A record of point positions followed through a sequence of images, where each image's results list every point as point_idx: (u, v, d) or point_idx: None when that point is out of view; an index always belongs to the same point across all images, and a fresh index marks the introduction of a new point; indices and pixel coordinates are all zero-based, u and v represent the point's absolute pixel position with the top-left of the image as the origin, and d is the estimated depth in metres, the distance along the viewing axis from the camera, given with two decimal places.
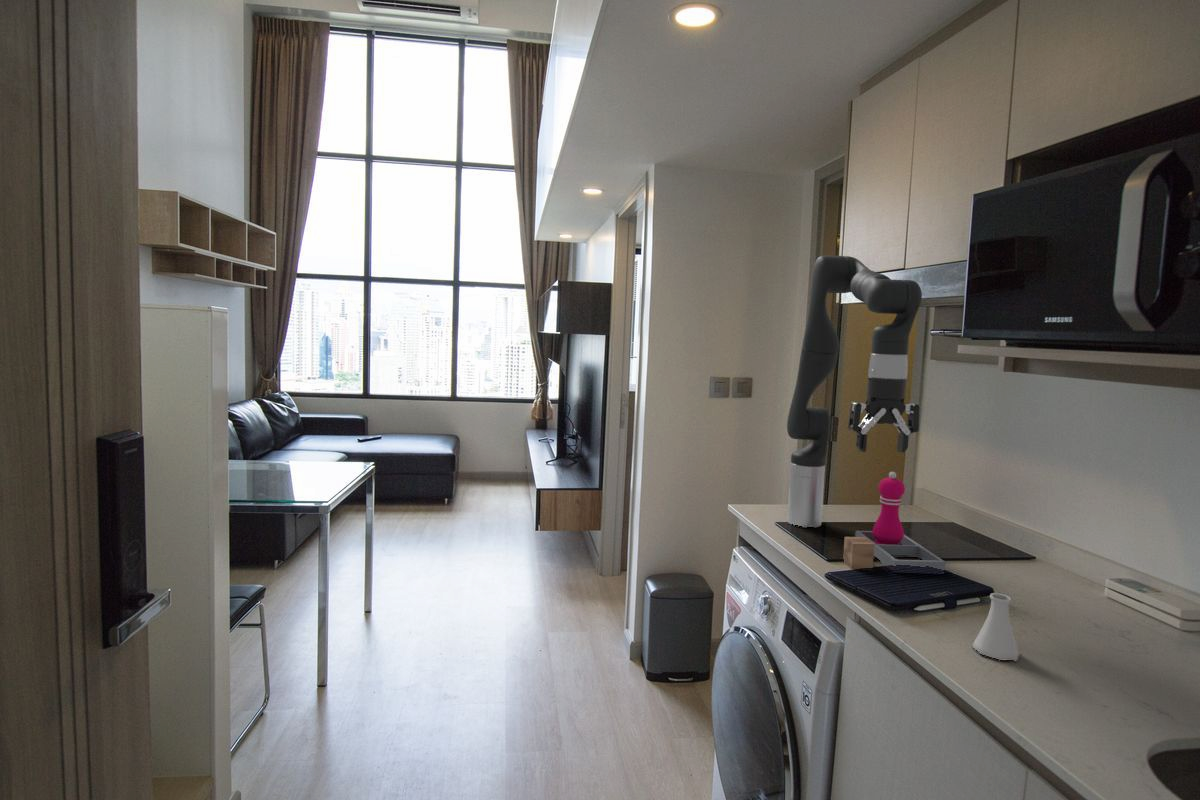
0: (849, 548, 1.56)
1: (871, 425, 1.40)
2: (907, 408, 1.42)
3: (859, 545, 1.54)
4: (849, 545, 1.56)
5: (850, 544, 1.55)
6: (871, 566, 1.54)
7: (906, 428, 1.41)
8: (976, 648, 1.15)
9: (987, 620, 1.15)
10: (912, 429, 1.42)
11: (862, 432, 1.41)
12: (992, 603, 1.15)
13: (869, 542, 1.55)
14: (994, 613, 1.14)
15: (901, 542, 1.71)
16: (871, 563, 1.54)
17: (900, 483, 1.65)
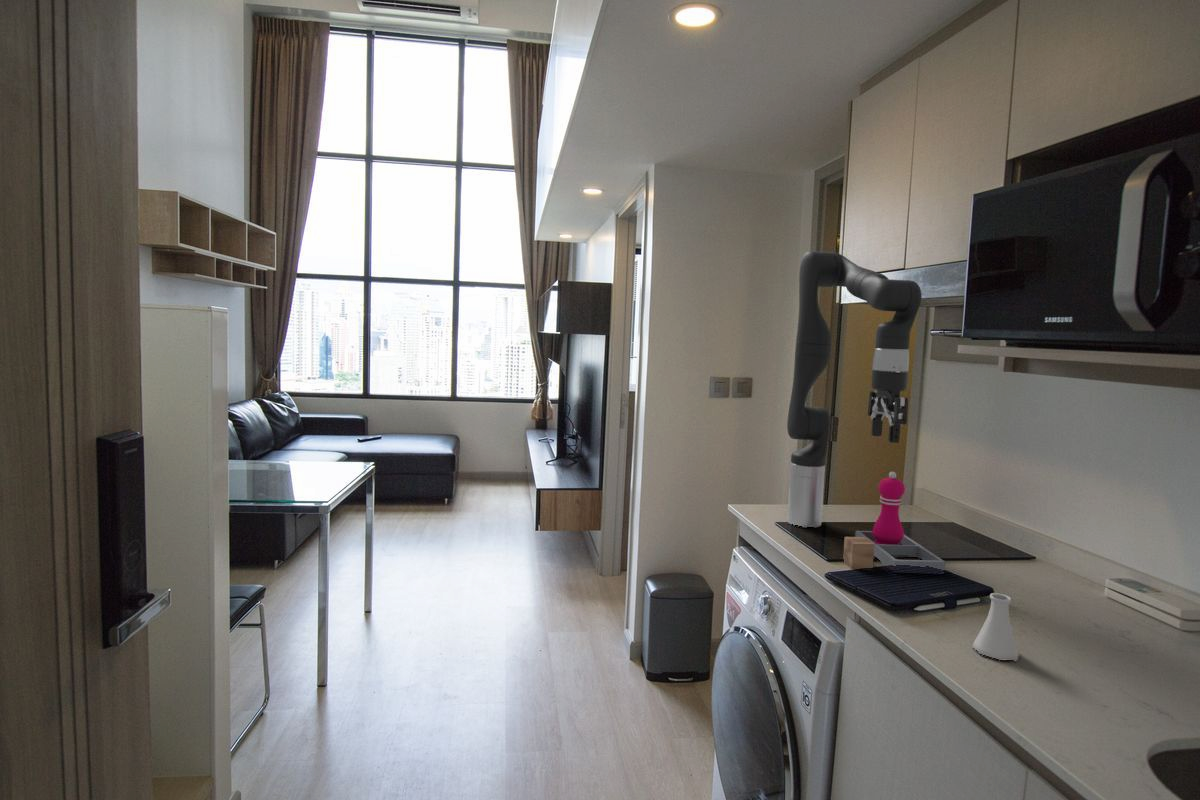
0: (849, 548, 1.56)
1: None
2: None
3: (859, 545, 1.54)
4: (849, 545, 1.56)
5: (850, 544, 1.55)
6: (871, 566, 1.54)
7: None
8: (976, 648, 1.15)
9: (987, 620, 1.15)
10: None
11: None
12: (992, 603, 1.15)
13: (869, 542, 1.55)
14: (994, 613, 1.14)
15: (901, 542, 1.71)
16: (871, 563, 1.54)
17: (900, 483, 1.65)
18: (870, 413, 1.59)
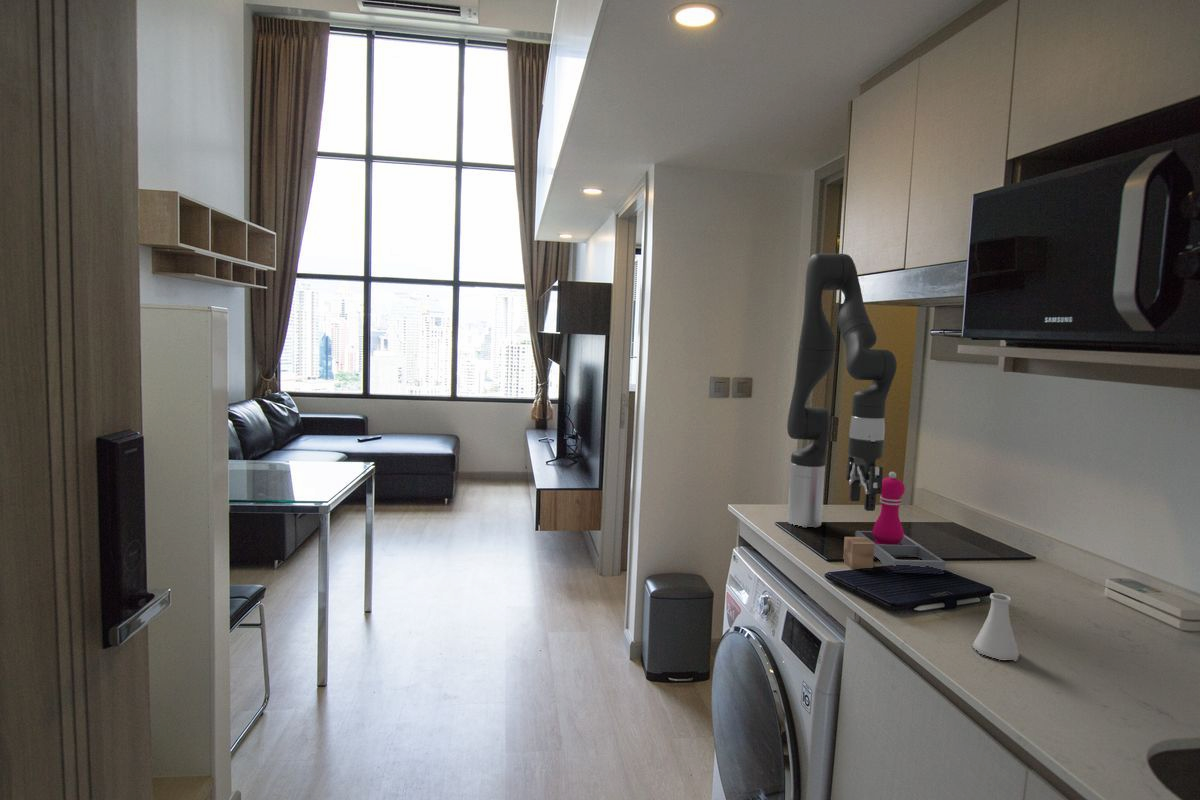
0: (849, 548, 1.56)
1: None
2: None
3: (858, 545, 1.54)
4: (849, 545, 1.56)
5: (850, 544, 1.55)
6: (871, 566, 1.55)
7: None
8: (976, 648, 1.15)
9: (987, 620, 1.15)
10: None
11: None
12: (992, 603, 1.15)
13: (869, 542, 1.55)
14: (994, 613, 1.14)
15: (901, 542, 1.71)
16: (871, 563, 1.54)
17: (900, 483, 1.65)
18: (848, 478, 1.61)
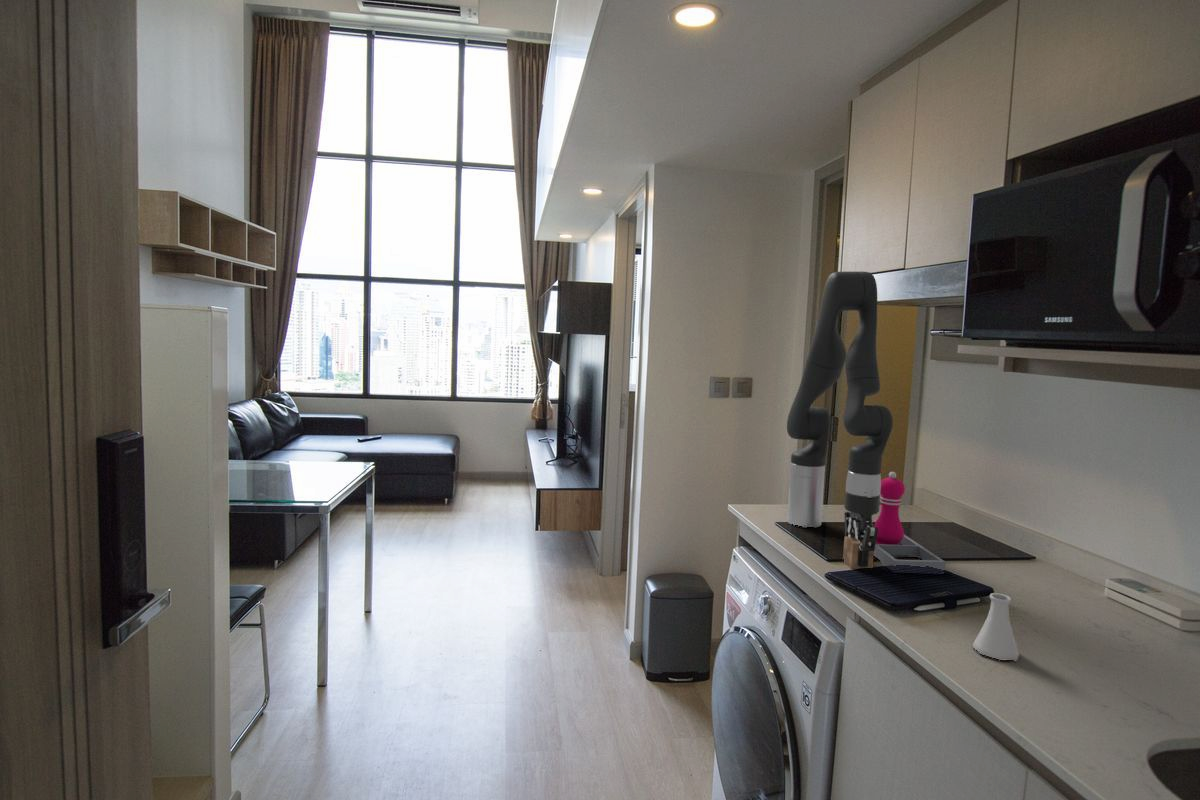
0: (849, 548, 1.56)
1: None
2: None
3: None
4: (848, 545, 1.56)
5: (850, 544, 1.55)
6: (871, 566, 1.55)
7: None
8: (976, 648, 1.15)
9: (987, 620, 1.15)
10: (854, 535, 1.61)
11: None
12: (992, 603, 1.15)
13: None
14: (994, 613, 1.14)
15: (901, 542, 1.71)
16: (871, 563, 1.54)
17: (900, 483, 1.65)
18: (847, 534, 1.61)
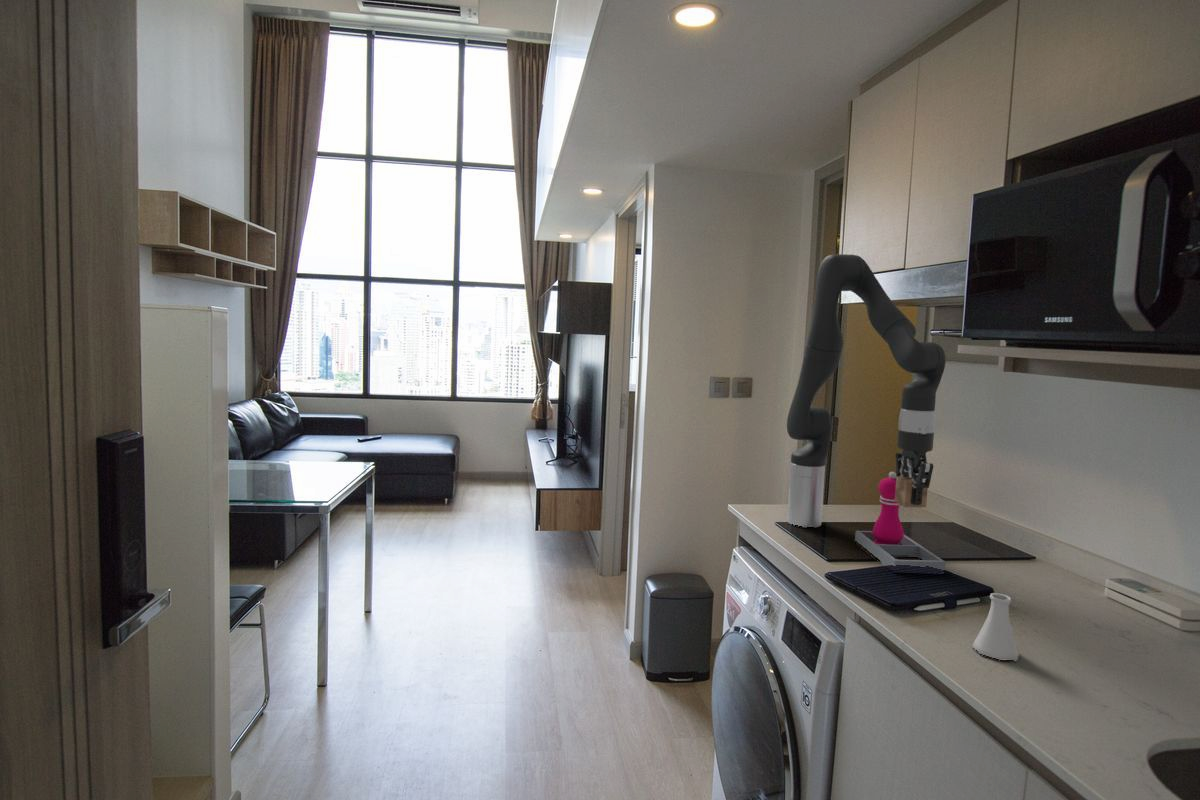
0: (902, 486, 1.55)
1: None
2: None
3: None
4: (901, 484, 1.55)
5: (903, 482, 1.54)
6: (924, 504, 1.54)
7: None
8: (976, 648, 1.15)
9: (987, 620, 1.15)
10: None
11: None
12: (992, 603, 1.15)
13: None
14: (994, 613, 1.14)
15: (901, 542, 1.71)
16: (924, 501, 1.53)
17: None
18: (899, 474, 1.60)
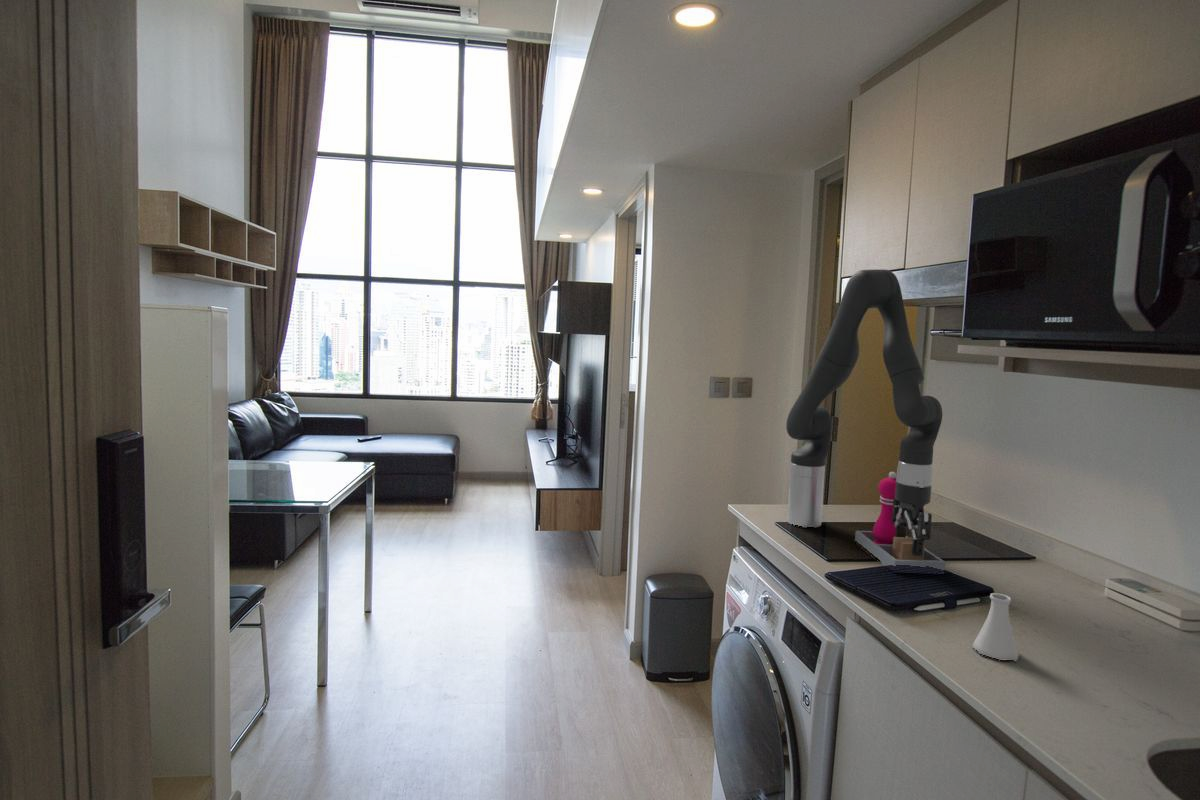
0: (898, 548, 1.57)
1: None
2: None
3: (909, 545, 1.55)
4: (898, 545, 1.57)
5: (900, 544, 1.56)
6: None
7: None
8: (976, 648, 1.15)
9: (987, 620, 1.15)
10: None
11: None
12: (992, 603, 1.15)
13: None
14: (994, 613, 1.14)
15: None
16: None
17: None
18: (894, 520, 1.63)
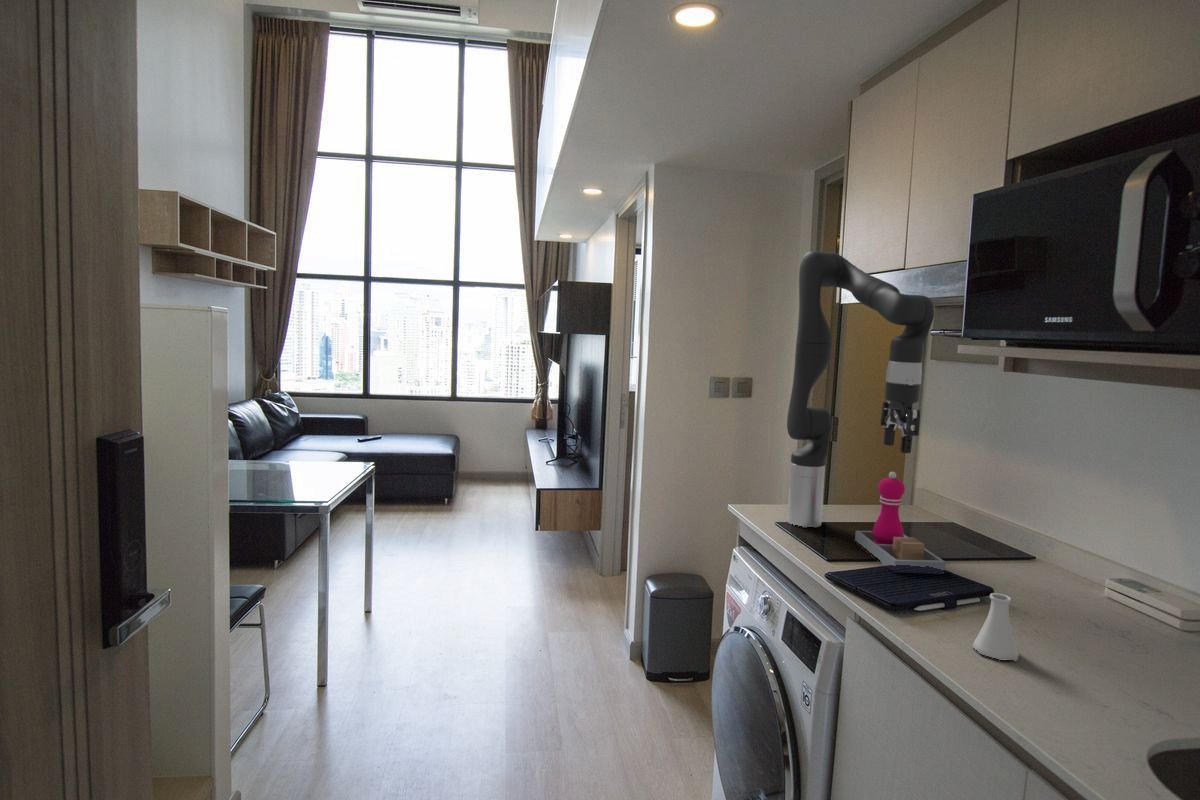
0: (898, 548, 1.57)
1: (912, 427, 1.55)
2: None
3: (909, 545, 1.55)
4: (898, 545, 1.57)
5: (900, 544, 1.56)
6: None
7: None
8: (976, 648, 1.15)
9: (987, 620, 1.15)
10: None
11: (913, 435, 1.53)
12: (992, 603, 1.15)
13: (919, 542, 1.56)
14: (994, 613, 1.14)
15: None
16: None
17: (900, 483, 1.65)
18: (883, 423, 1.64)
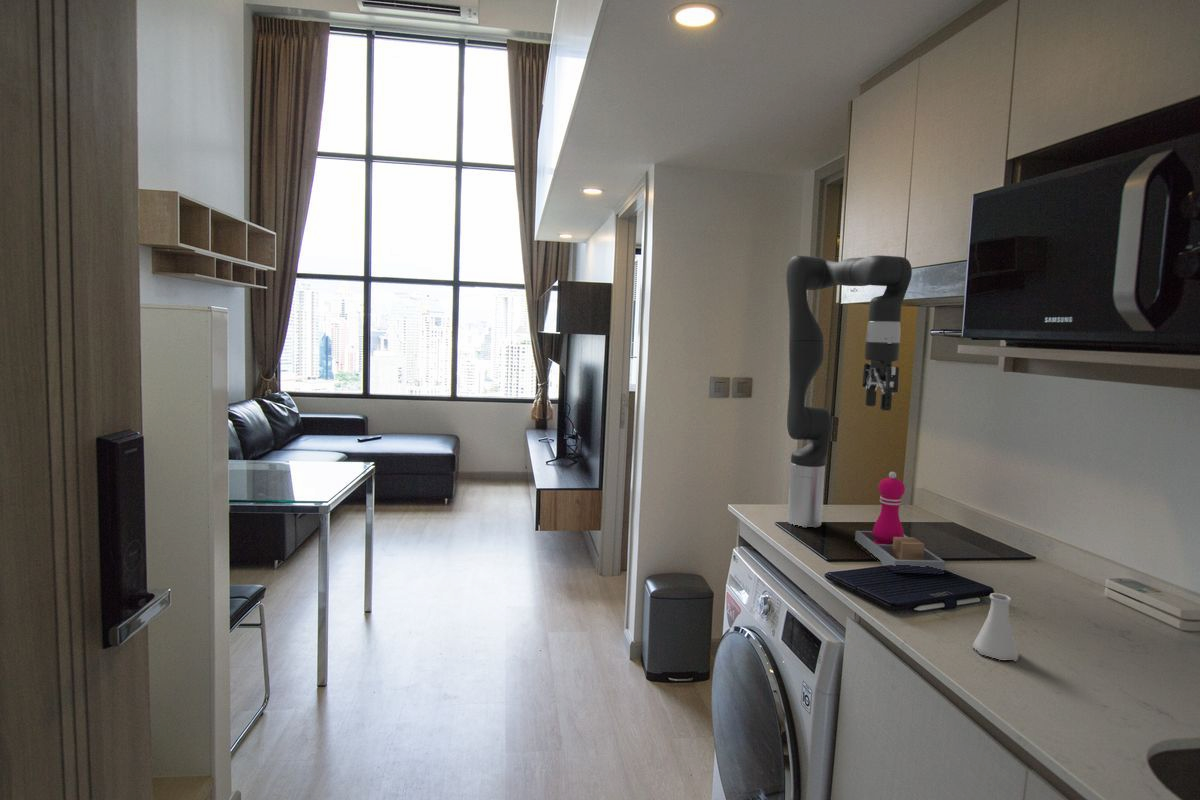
0: (898, 548, 1.57)
1: None
2: None
3: (909, 545, 1.55)
4: (898, 545, 1.57)
5: (900, 544, 1.56)
6: None
7: None
8: (976, 648, 1.15)
9: (987, 620, 1.15)
10: None
11: (893, 392, 1.57)
12: (992, 603, 1.15)
13: (919, 542, 1.56)
14: (994, 613, 1.14)
15: None
16: None
17: (900, 483, 1.65)
18: (864, 384, 1.68)
